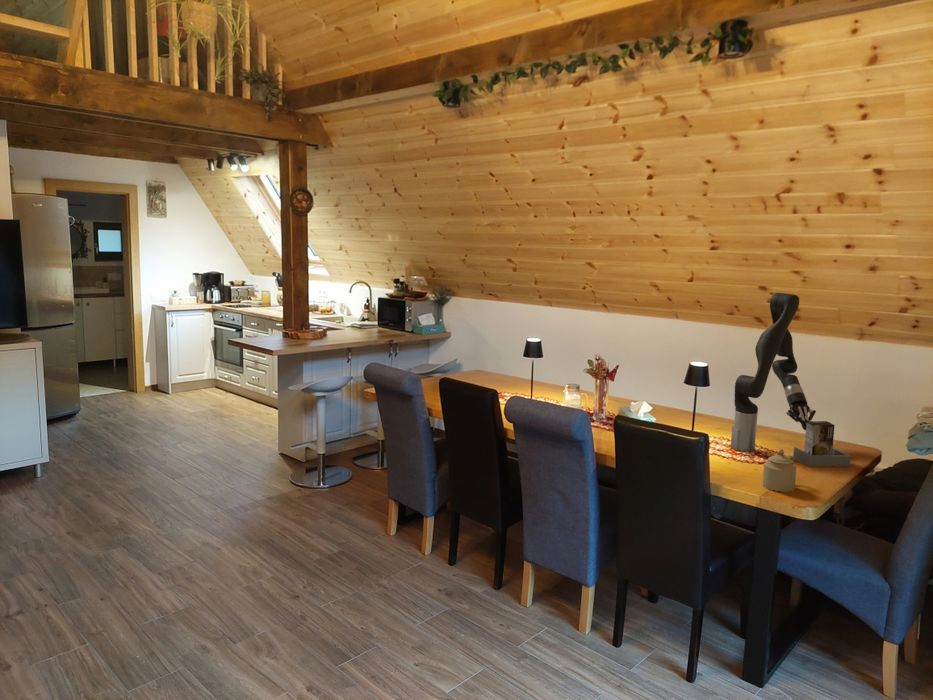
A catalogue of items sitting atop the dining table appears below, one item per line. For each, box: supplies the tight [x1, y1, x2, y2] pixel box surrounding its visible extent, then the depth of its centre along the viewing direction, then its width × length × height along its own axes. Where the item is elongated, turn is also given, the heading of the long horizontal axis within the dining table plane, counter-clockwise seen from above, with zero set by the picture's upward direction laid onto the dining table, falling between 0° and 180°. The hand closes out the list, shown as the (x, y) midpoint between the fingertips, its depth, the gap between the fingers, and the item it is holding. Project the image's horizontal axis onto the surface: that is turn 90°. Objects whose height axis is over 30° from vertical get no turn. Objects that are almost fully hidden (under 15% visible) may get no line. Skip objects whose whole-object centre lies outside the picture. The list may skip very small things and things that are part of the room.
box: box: [792, 446, 852, 467], centre depth 280 cm, size 17×12×4 cm
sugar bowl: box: [762, 448, 797, 493], centre depth 250 cm, size 15×11×15 cm
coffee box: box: [803, 420, 835, 455], centre depth 283 cm, size 9×6×16 cm
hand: (807, 429), depth 291 cm, fingers closed
